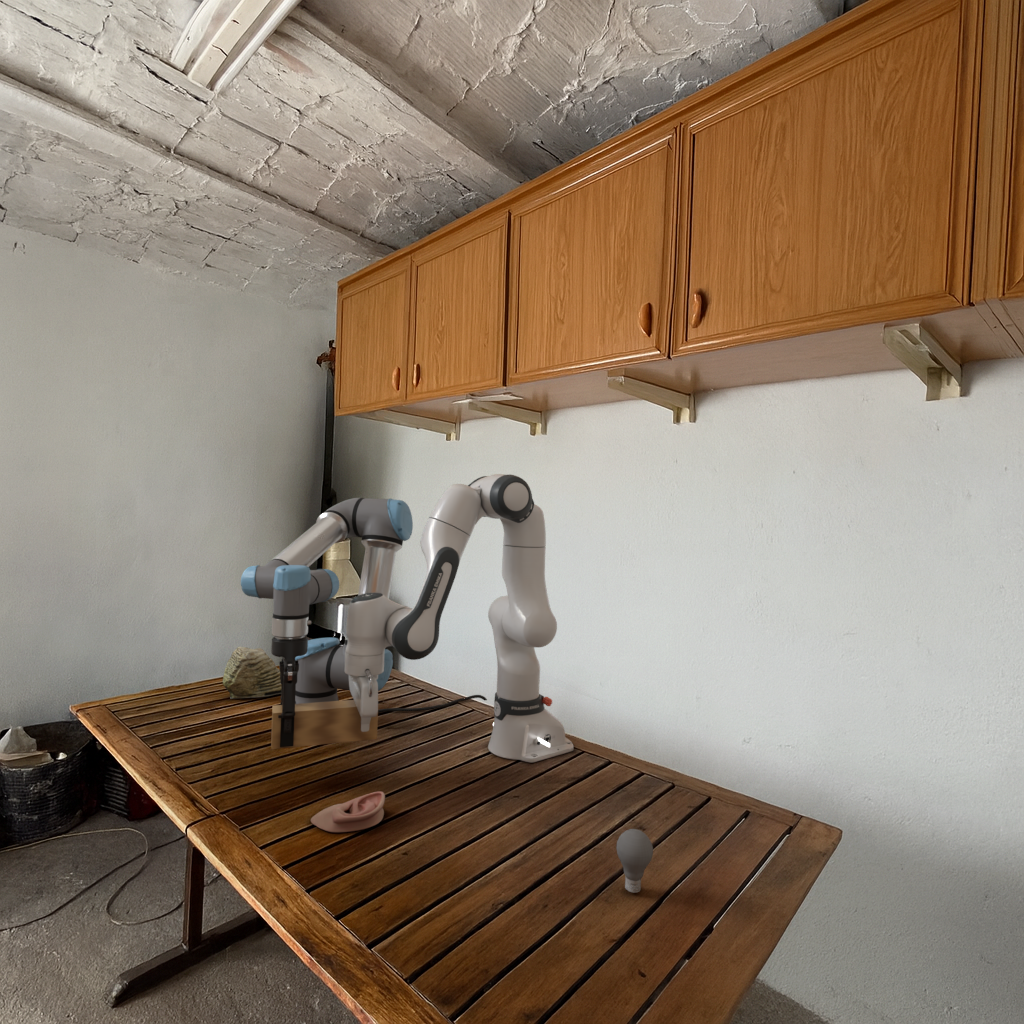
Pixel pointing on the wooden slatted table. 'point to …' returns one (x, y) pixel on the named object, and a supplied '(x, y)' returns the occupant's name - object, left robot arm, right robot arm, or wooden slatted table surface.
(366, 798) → the anatomical model
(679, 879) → the wooden slatted table surface
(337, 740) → the bar
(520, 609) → the right robot arm
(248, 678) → the fossil
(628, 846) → the light bulb
